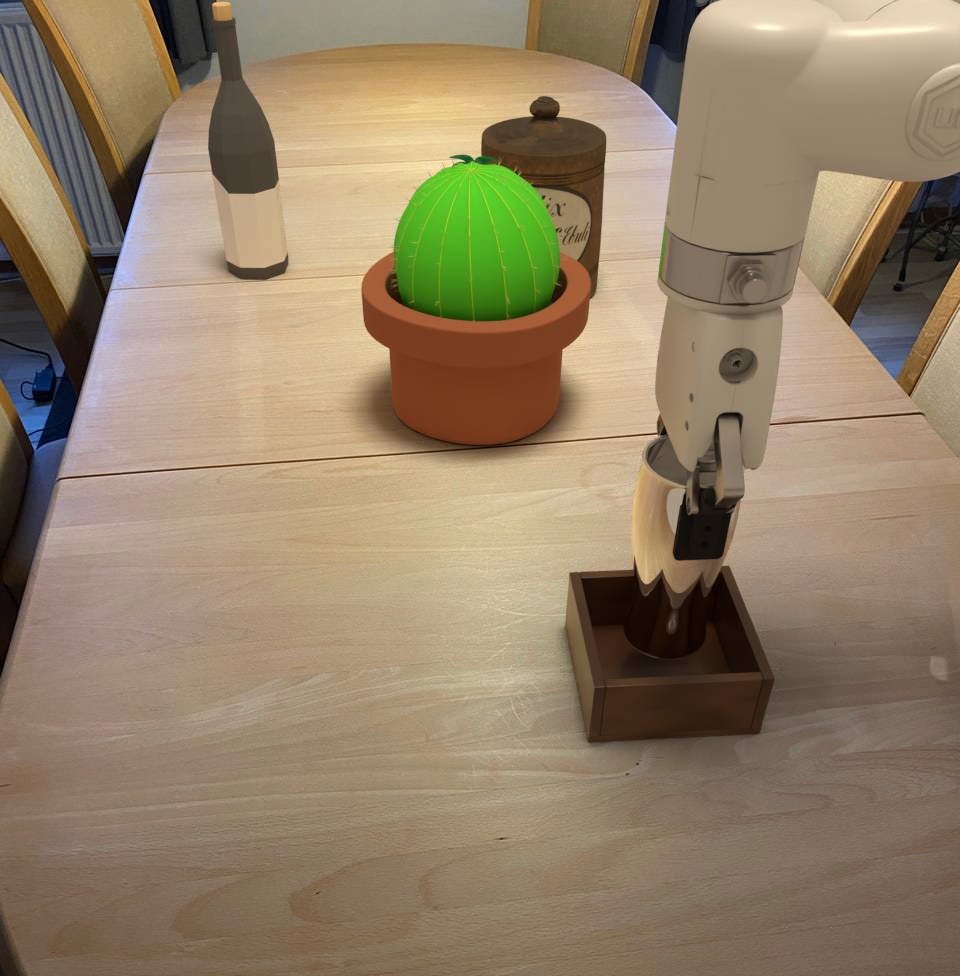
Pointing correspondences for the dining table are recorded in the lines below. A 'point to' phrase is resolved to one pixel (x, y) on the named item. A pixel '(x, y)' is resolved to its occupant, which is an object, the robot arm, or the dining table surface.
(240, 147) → the wine bottle
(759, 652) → the crate
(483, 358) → the potted cactus
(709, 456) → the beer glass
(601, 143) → the wooden container
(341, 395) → the dining table surface
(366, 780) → the dining table surface
